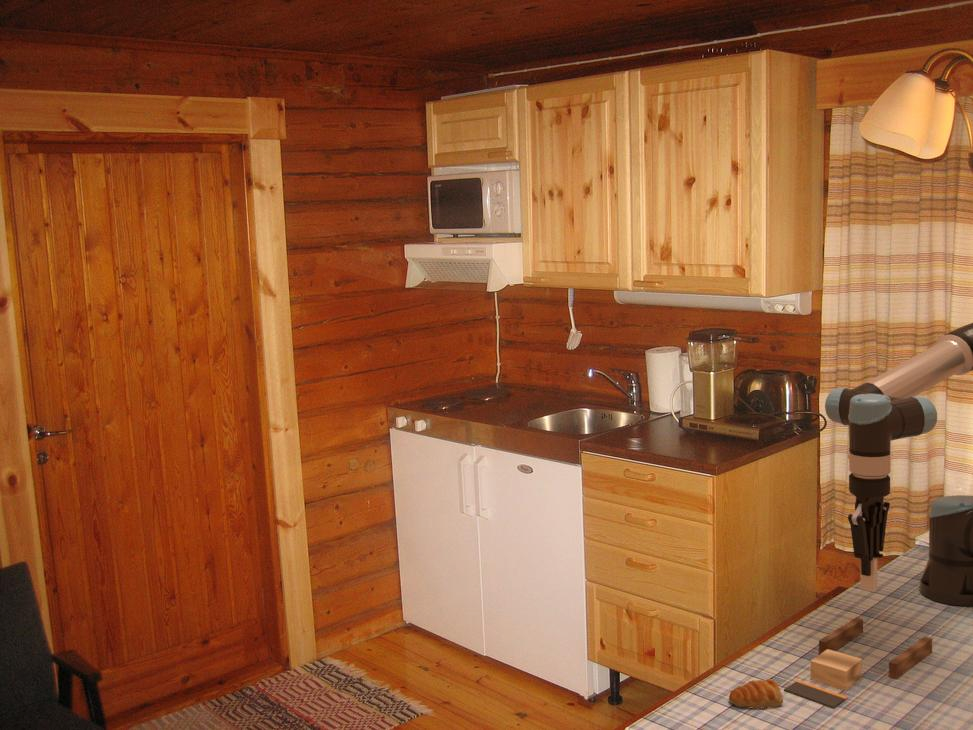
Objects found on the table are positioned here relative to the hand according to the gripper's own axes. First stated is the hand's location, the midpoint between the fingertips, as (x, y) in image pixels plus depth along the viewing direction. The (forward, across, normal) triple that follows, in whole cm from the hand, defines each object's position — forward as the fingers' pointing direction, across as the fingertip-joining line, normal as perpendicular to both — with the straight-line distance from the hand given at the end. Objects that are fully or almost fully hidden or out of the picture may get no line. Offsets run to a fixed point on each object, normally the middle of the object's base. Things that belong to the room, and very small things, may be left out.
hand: (868, 589), depth 192 cm
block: (+15, +12, -1) cm, 19 cm away
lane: (+15, -3, 0) cm, 15 cm away
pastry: (+15, +30, -6) cm, 34 cm away
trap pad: (+14, +21, 0) cm, 25 cm away
